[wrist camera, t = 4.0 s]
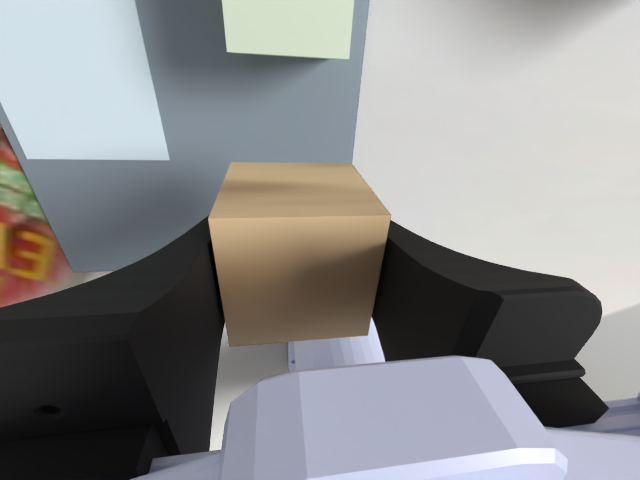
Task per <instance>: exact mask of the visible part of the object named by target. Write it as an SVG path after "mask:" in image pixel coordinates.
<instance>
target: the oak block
mask: <svg viewBox="0 0 640 480" xmlns="http://www.w3.org/2000/svg"><path fill="white" fill-rule="evenodd" d="M390 219H391V214H390V213H389V212H388V210H387V209H386V208H385V206H384V205H383V204H382V203H381V201H380V200H379V199H378V197H377V196H376V195H375V193H374V192H373V191H372V189H371V188H370V187H369V185H368V184H367V183H366V182H365V180H364V179H363V178H362V176H361V175H360V174H359V172H358V171H357V170H356V168H355V167H354V166H353V165H352V163H278V162H231V163H230V166H229V168H228V171H227V173H226V176H225V178H224V180H223V183H222V185H221V188H220V190H219V193H218V195H217V198H216V200H215V203H214V205H213V208H212V210H211V213H210V215H209V218H208V221H209V227H210V233H211V239H212V245H213V251H214V257H215V263H216V269H217V275H218V281H219V287H220V293H221V299H222V305H223V311H224V317H225V323H226V329H227V335H228V341H229V347H230V346H243V345H255V344H268V343H281V342H294V341H306V340H319V339H332V338H344V337H357V336H368V332H369V327H370V322H371V317H372V312H373V307H374V302H375V296H376V291H377V286H378V281H379V276H380V271H381V265H382V260H383V255H384V250H385V245H386V240H387V234H388V229H389V224H390Z"/></svg>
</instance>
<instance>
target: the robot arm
mask: <svg viewBox="0 0 640 480" xmlns="http://www.w3.org/2000/svg"><path fill="white" fill-rule="evenodd" d="M208 218H209V215H208V216H207V217H206V218H204V219H203V220H202V221H200V222H199V223H198V224H196V225H195V226H194V227H192V228H191V229H190V230H188V231H187V232H186V233H184V234H183V235H181V236H180V237H178V238H177V239H175V240H174V241H172V242H171V243H169V244H168V245H166V246H164V247H163V248H161V249H159V250H158V251H156V252H154V253H152V254H151V255H149V256H147V257H145V258H143V259H141V260H139V261H137V262H135V263H133V264H130V265H128V266H126V267H123V268H121V269H119V270H116V271H114V272H112V273H110V274H107V275H105V276H102V277H100V278H97V279H94V280H92V281H89V282H86V283H83V284H80V285H77V286H74V287H71V288H68V289H65V290H62V291H59V292H56V293H53V294H49V295H46V296H42V297H39V298H35V299H31V300H28V301H24V302H20V303H17V304H13V305H9V306H6V307H2V308H0V480H640V392H639V393H638V396H637V397H636V398H628V399H620V400H612V401H605V402H603V401H602V400H601V399H600V398H599V397H598V396H597V395H596V394H595V393H594V392H593V391H592V389H590V387H589V386H588V385H587V384H586V383H585V382H584V381H583V380H582V379H581V378H580V377H582V376H584V375H585V369H584V368H583V367H582V366H581V365H580V364H579V363H578V362H577V361H576V360H575V359H574V358H575V356H576V355H577V354H578V352H579V351H580V350H581V349H582V347H583V346H584V345H585V343H586V342H587V341H588V339H589V338H590V337H591V336H592V334H593V333H594V331H595V330H596V328H597V327H598V325H599V323H600V319H601V316H602V306H601V302H600V301H599V299H598V298H597V297H596V296H595V295H594V294H592V293H591V292H590V291H588V290H587V289H586V288H584V287H583V286H581V285H580V284H579V283H577V282H576V281H574V280H572V279H570V278H565V277H559V276H553V275H548V274H542V273H536V272H530V271H525V270H520V269H516V268H511V267H507V266H503V265H499V264H495V263H491V262H487V261H484V260H480V259H477V258H474V257H471V256H468V255H464V254H462V253H459V252H456V251H453V250H451V249H448V248H446V247H443V246H441V245H438V244H436V243H434V242H431V241H429V240H427V239H425V238H423V237H421V236H419V235H417V234H415V233H413V232H411V231H409V230H407V229H406V228H404V227H402V226H400V225H398V224H397V223H395V222H393V221H391V220H390V224H389V229H388V234H387V240H386V245H385V250H384V255H383V260H382V265H381V271H380V276H379V281H378V286H377V291H376V296H375V302H374V307H373V312H372V317H371V322H370V327H369V332H368V336H357V337H344V338H332V339H319V340H306V341H294V342H288V368H289V370H290V371H291V372H288V373H284V374H280V375H276V376H272V377H269V378H265V379H262V380H261V381H259V382H258V383H257V384H255V385H254V386H253V387H251V388H250V389H248V390H247V391H246V392H244V393H243V394H242V395H240V396H239V397H238V398H236V399H235V400H233V401H232V402H231V404H230V407H229V411H228V414H227V418H226V422H225V426H224V434H223V441H222V449H221V450H216V451H209V448H210V436H211V425H212V415H213V405H214V395H215V386H216V377H217V368H218V360H219V352H220V345H221V338H222V333H223V328H224V324H225V317H224V311H223V305H222V299H221V293H220V287H219V281H218V275H217V269H216V263H215V257H214V251H213V245H212V239H211V233H210V227H209V221H208Z"/></svg>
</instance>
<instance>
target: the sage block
mask: <svg viewBox="0 0 640 480" xmlns="http://www.w3.org/2000/svg"><path fill="white" fill-rule="evenodd" d="M222 7H223V17H224V27H225V38H226V48H227V52H231V53H238V54H254V55H270V56H287V57H304V58H321V59H349V55H350V43H351V32H352V20H353V9H354V0H222Z"/></svg>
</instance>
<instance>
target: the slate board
mask: <svg viewBox="0 0 640 480" xmlns="http://www.w3.org/2000/svg"><path fill="white" fill-rule="evenodd" d="M368 9H369V0H354V9H353V20H352V32H351V43H350V55H349V59H321V58H304V57H287V56H270V55H254V54H238V53H231V52H227V48H226V38H225V27H224V17H223V7H222V0H0V123H1V125H2V127H3V129H4V131H5V134H6V136H7V138H8V140H9V142H10V144H11V146H12V148H13V150H14V152H15V154H16V156H17V158H18V160H19V162H20V164H21V166H22V168H23V170H24V172H25V175H26V177H27V179H28V181H29V183H30V185H31V187H32V189H33V191H34V193H35V195H36V197H37V199H38V201H39V203H40V205H41V207H42V209H43V211H44V214H45V216H46V218H47V220H48V222H49V224H50V226H51V228H52V230H53V232H54V234H55V236H56V238H57V240H58V242H59V244H60V246H61V248H62V250H63V252H64V255H65V257H66V259H67V261H68V263H69V265H70V267H71V269H72V271H73V272H93V271H116V270H119V269H121V268H123V267H126V266H128V265H130V264H133V263H135V262H137V261H139V260H141V259H143V258H145V257H147V256H149V255H151V254H152V253H154V252H156V251H158V250H159V249H161V248H163V247H164V246H166V245H168V244H169V243H171V242H172V241H174V240H175V239H177V238H178V237H180V236H181V235H183V234H184V233H186V232H187V231H188V230H190V229H191V228H192V227H194V226H195V225H196V224H198V223H199V222H200V221H202V220H203V219H204V218H206V217H207V216H208V215H210V213H211V210H212V208H213V205H214V203H215V200H216V198H217V195H218V193H219V190H220V188H221V185H222V183H223V180H224V178H225V176H226V173H227V171H228V168H229V166H230V163H231V162H278V163H352V158H353V149H354V139H355V130H356V121H357V111H358V102H359V93H360V83H361V74H362V65H363V55H364V46H365V37H366V27H367V18H368Z"/></svg>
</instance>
